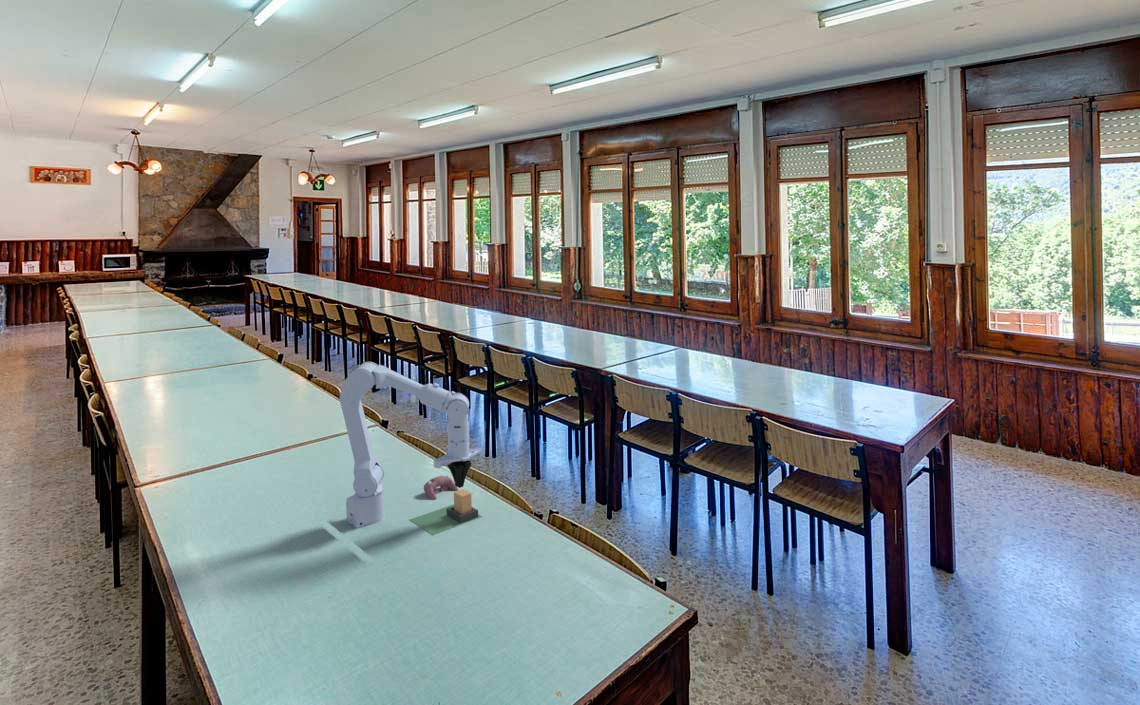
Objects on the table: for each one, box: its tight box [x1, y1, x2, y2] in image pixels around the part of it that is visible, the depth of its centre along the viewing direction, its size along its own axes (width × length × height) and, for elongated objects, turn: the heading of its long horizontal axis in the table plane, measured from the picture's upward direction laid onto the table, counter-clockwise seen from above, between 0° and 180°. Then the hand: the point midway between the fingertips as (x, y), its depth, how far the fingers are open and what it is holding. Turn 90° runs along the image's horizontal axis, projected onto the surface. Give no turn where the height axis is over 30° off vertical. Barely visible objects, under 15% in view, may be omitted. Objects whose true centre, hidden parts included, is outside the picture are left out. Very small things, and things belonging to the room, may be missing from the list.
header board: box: [409, 503, 483, 536], centre depth 168 cm, size 16×12×3 cm
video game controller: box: [423, 475, 459, 501], centre depth 185 cm, size 10×5×7 cm, turn 141°
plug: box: [453, 488, 473, 515], centre depth 169 cm, size 3×4×7 cm
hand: (459, 486), depth 169 cm, fingers closed
